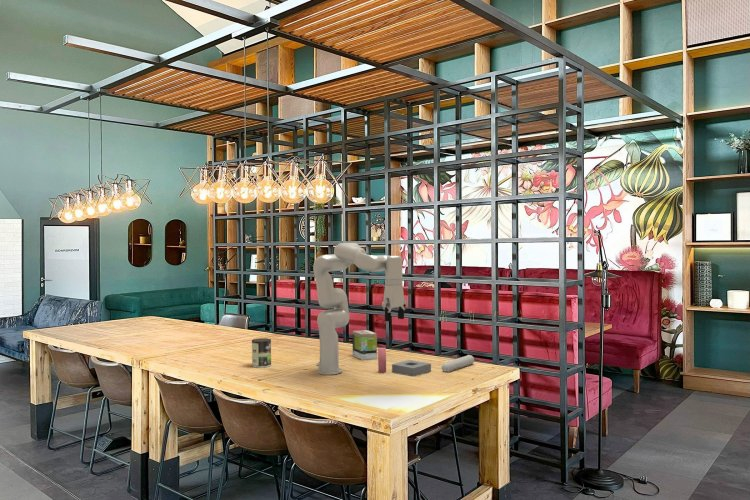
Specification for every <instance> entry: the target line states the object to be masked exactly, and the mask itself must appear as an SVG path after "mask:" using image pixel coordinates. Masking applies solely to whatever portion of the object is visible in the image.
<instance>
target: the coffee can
mask: <svg viewBox="0 0 750 500" xmlns="http://www.w3.org/2000/svg"><path fill="white" fill-rule="evenodd" d="M251 349H252V350H251V359H252V360H251V361H252V363H251V364H252V365H251V367H253V368H258V369H260V368H261V369H262V368H264V369H265V368H268V367H271V366H272V339H271V338H268V337H267V338H254V339H252V340H251Z"/></svg>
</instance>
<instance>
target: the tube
mask: <svg viewBox="0 0 750 500" xmlns="http://www.w3.org/2000/svg"><path fill="white" fill-rule="evenodd" d="M473 364H475V357H474V356H473V355H471V354H467V355H465V356H461V357H458V358H455V359H452V360H448V361H446V362H445V361H444V362H443V363H442V365H441V370H442V371H443V372H444V373H449V372H454V371H456V370H459V369H462V368H465V367H468V366H471V365H473Z"/></svg>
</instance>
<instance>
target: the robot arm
mask: <svg viewBox="0 0 750 500" xmlns="http://www.w3.org/2000/svg"><path fill="white" fill-rule="evenodd" d="M351 265H355V266H356V267H357V268H358V269H360V270H362V271H367V272H371V273H374V272H375V273H376V272H378V273H379V272H385V286H384V290H383V291H384V292H383V301H382V303H381V307H382V310H383V313H384V321H385V322H392V312H391V311H392V309H396V308H397V309H398V310H397V319H398V320H404V319H405V310H406V306H407V302H408V301H407V299H405V294H404V287H403V258H402V256H400V255H387V254H375V255H372V254H371V255H370V254H368V253H367V252H366V249H364V248H363V247H361V246H360V245H359V244H358V243H356V242H340V243H338V244H336V245H335V246H334V248H333V254H322V255H320V256H319V255H318V257H316V258H315V260H314V263H313V265H312V267H313V268H312V269H313V271H312V272H313V275H314V277H315V278H314V279H315V282H316V292H317V300H318V301H317V302H318V305H319V306H320V307H321V308H326V309H327V308H333V309H327V310H323V311H321V312H320V313H319V314H318V315H317V318H316V319H317V326H318V334H319V361H318V363H316V367H318V369H317V370H316V373H317V374H319V375H323V376H324V375H325V376H329V375H330V376H331V375H332V376H333V375H338V374H341V373H343V370H342V368H340V365H339V364H340V363H339V360H340V359H339V358H340V357H339V355H340V353H339V350H340V349H339V334H338V333H337V331H336V329H339V328H344V327H346V326H347V325H348V324H349V323H350V322H349V321H350V312H349V304H348V303H349V302H348V295H347V293H346V292H345V290H344V289H342V288H340V287H334V280H333V277H332V275H331V274H330V273H329V272H337V271H338V272H339V271H344V270H346V269H347V268H349V267H350V266H351Z"/></svg>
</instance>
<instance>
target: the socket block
mask: <svg viewBox="0 0 750 500" xmlns="http://www.w3.org/2000/svg"><path fill="white" fill-rule="evenodd" d="M391 372H392V373H395V374H399V375H405V376H409V377H410V376H411V377H415V376H419V375H424V374H426V373H430V372H432V363H430V362H423V361H419V360H411V359H408V360H404V361H400V362H395V363H392V364H391Z"/></svg>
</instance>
